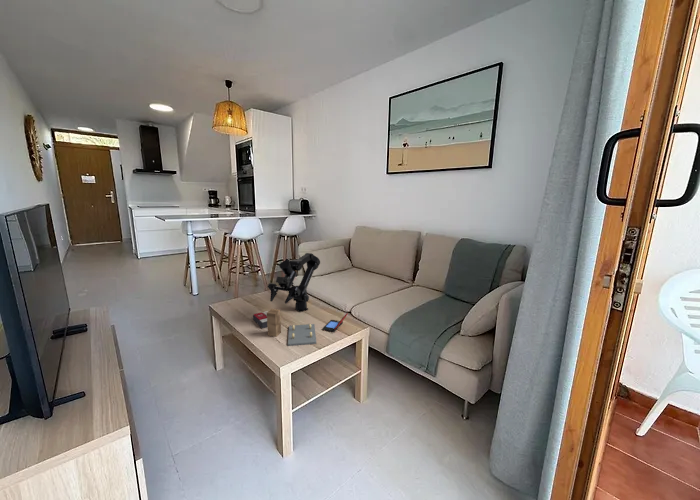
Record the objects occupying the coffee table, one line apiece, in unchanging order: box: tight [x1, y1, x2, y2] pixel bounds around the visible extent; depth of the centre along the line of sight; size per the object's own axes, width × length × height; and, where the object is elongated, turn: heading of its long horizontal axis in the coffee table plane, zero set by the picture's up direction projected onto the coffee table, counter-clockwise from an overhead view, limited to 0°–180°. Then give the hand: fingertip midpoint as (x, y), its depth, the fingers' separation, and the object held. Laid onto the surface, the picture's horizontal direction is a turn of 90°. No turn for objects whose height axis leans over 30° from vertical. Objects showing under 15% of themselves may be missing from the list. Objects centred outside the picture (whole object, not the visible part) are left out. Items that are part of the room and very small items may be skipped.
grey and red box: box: [252, 309, 271, 330], centre depth 169 cm, size 11×4×15 cm
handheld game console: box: [322, 312, 349, 333], centre depth 162 cm, size 12×11×7 cm
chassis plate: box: [287, 323, 317, 347], centre depth 153 cm, size 20×14×4 cm
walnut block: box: [267, 308, 282, 338], centre depth 153 cm, size 5×5×13 cm
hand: (278, 302), depth 159 cm, fingers open, 9 cm apart
